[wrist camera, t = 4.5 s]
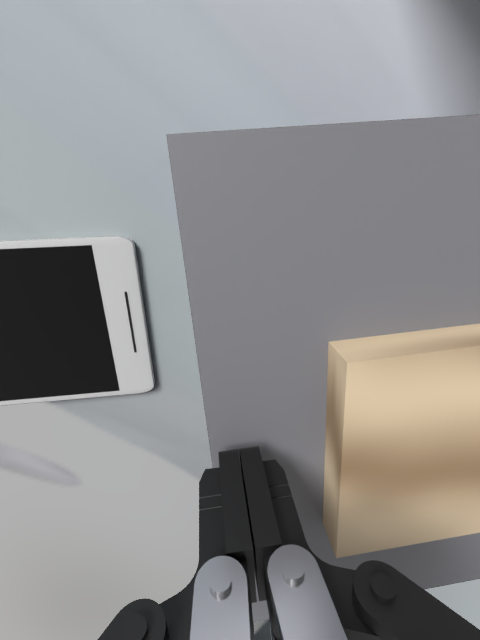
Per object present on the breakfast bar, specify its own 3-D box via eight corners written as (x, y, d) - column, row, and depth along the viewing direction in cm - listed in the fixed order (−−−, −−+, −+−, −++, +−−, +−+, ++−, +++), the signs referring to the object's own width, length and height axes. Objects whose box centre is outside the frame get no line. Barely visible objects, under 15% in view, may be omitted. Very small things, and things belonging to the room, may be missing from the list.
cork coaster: (328, 341, 11) (347, 362, 10) (565, 313, 12) (615, 328, 10) (322, 523, 14) (336, 558, 13) (508, 491, 15) (539, 521, 14)
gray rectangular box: (176, 153, 12) (166, 134, 8) (521, 130, 13) (648, 103, 9) (228, 546, 20) (234, 625, 16) (437, 510, 21) (488, 577, 17)
